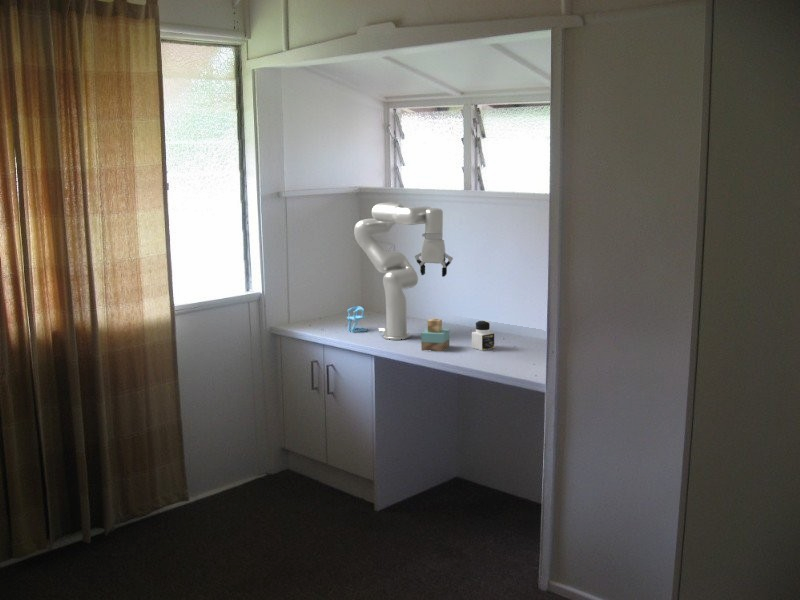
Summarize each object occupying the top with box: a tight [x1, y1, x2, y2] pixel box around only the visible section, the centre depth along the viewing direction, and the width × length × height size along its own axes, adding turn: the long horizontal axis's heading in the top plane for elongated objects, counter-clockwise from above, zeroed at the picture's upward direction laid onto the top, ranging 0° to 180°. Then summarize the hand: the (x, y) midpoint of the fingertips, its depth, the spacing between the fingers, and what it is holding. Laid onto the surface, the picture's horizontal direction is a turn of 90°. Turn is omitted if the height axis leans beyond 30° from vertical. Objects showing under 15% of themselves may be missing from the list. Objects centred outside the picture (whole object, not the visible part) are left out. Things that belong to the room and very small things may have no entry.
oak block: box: [427, 318, 443, 333], centre depth 367 cm, size 5×5×5 cm
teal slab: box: [420, 328, 451, 343], centre depth 368 cm, size 10×10×4 cm
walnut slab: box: [420, 338, 450, 352], centre depth 368 cm, size 10×10×4 cm
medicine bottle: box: [471, 320, 495, 351], centre depth 365 cm, size 7×7×12 cm
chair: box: [346, 305, 368, 333], centre depth 407 cm, size 8×8×12 cm
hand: (433, 275), depth 369 cm, fingers open, 9 cm apart
